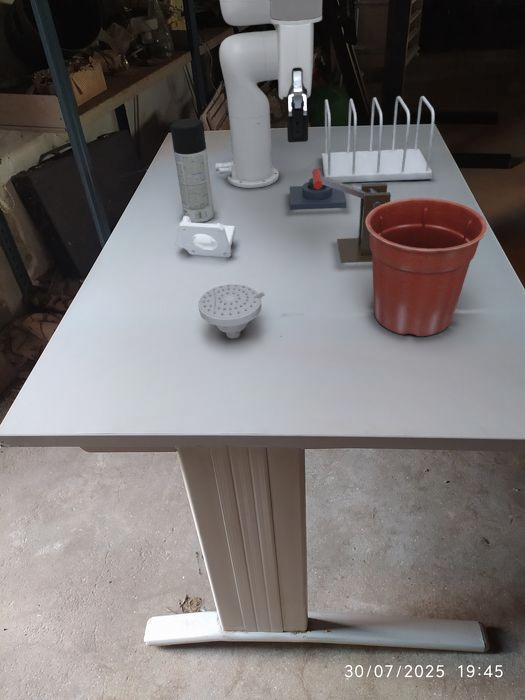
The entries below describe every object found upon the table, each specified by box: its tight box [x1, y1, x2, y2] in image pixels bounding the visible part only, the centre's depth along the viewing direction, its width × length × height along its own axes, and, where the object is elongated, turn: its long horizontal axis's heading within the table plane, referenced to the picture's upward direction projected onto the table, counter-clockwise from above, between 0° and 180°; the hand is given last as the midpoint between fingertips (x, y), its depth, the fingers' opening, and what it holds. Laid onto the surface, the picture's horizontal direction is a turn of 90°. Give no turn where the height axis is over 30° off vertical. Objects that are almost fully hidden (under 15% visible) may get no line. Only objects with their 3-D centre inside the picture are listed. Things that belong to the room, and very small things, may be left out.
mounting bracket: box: [174, 215, 237, 258], centre depth 103 cm, size 12×6×11 cm, turn 76°
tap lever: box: [311, 167, 381, 199], centre depth 94 cm, size 13×6×2 cm, turn 88°
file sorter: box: [321, 95, 435, 183], centre depth 130 cm, size 25×17×16 cm
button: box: [308, 177, 325, 190], centre depth 118 cm, size 4×4×2 cm
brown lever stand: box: [336, 182, 392, 264], centre depth 98 cm, size 12×9×13 cm
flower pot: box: [366, 197, 488, 337], centre depth 81 cm, size 16×16×16 cm
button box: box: [289, 181, 347, 211], centre depth 120 cm, size 12×10×4 cm
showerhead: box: [197, 284, 266, 339], centre depth 82 cm, size 9×7×10 cm
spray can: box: [169, 118, 215, 223], centre depth 112 cm, size 7×7×20 cm
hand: (297, 131), depth 88 cm, fingers open, 9 cm apart
